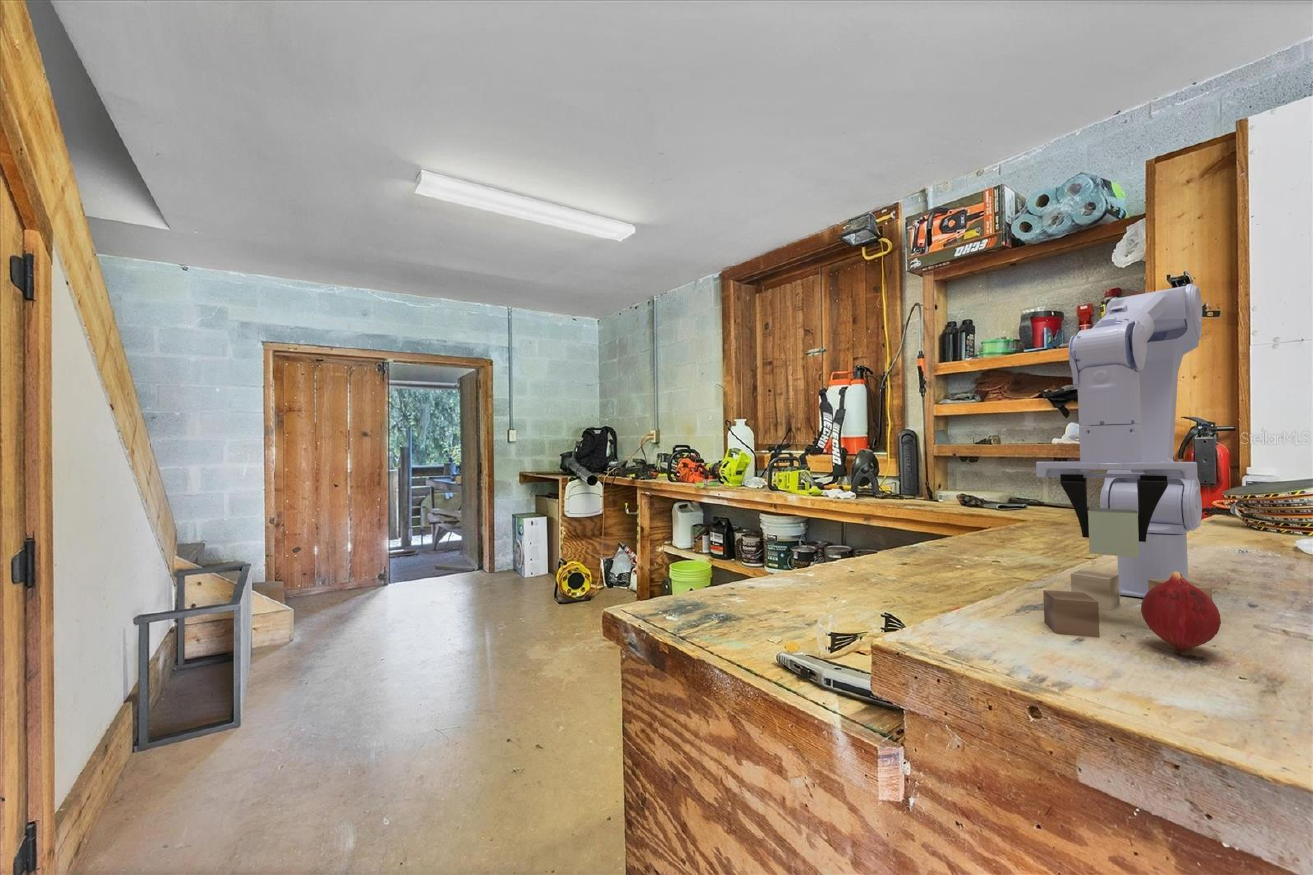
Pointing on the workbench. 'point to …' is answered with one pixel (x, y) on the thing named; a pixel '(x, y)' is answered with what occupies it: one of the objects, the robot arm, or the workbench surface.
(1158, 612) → the onion
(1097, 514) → the sage block
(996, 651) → the workbench surface
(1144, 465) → the robot arm
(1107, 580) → the maple block
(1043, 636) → the workbench surface
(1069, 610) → the walnut block
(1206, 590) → the oak block
